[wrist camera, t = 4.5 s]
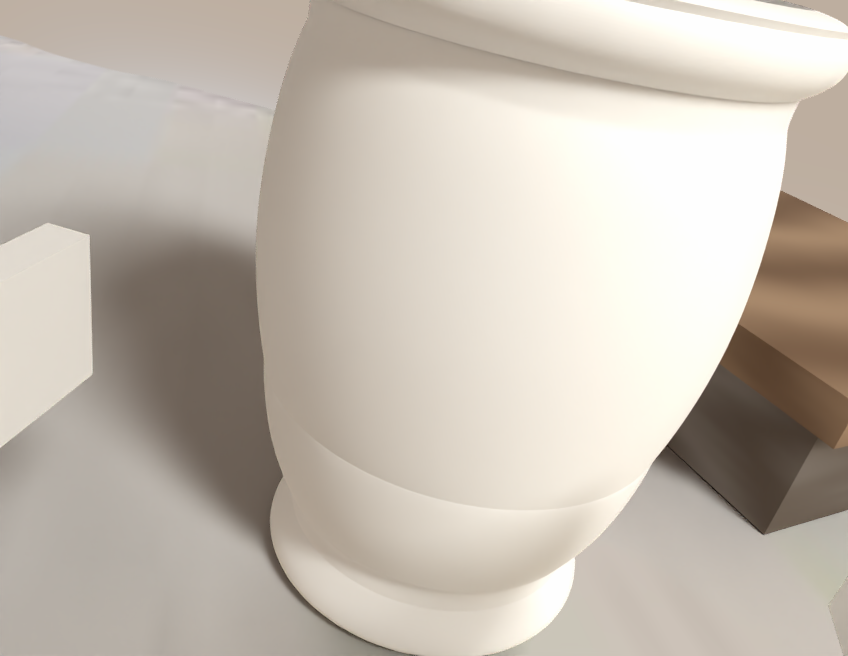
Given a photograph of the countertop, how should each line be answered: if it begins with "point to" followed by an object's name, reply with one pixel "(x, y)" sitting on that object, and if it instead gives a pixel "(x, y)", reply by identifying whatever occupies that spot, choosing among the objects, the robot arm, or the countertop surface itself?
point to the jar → (504, 283)
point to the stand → (782, 382)
